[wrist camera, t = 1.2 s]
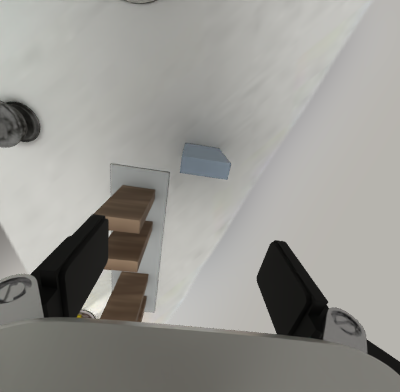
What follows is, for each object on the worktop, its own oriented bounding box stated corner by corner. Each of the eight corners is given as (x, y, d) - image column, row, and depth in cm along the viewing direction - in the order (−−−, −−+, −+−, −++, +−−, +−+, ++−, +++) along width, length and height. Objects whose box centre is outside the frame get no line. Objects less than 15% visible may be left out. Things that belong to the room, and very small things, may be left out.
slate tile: (185, 142, 29) (182, 156, 20) (219, 148, 30) (231, 163, 20) (184, 154, 30) (179, 172, 21) (217, 160, 30) (227, 179, 21)
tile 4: (121, 271, 38) (98, 321, 28) (148, 273, 38) (134, 324, 29) (121, 278, 38) (98, 329, 29) (148, 280, 39) (134, 332, 30)
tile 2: (122, 217, 33) (95, 257, 24) (152, 221, 34) (137, 261, 24) (122, 226, 34) (95, 268, 25) (152, 230, 34) (137, 272, 25)
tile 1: (122, 184, 31) (92, 214, 22) (155, 189, 31) (139, 220, 22) (122, 195, 32) (93, 228, 22) (154, 199, 32) (139, 233, 23)
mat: (111, 163, 30) (110, 164, 30) (169, 172, 31) (169, 173, 30) (112, 307, 42) (112, 309, 42) (154, 310, 43) (154, 312, 42)
